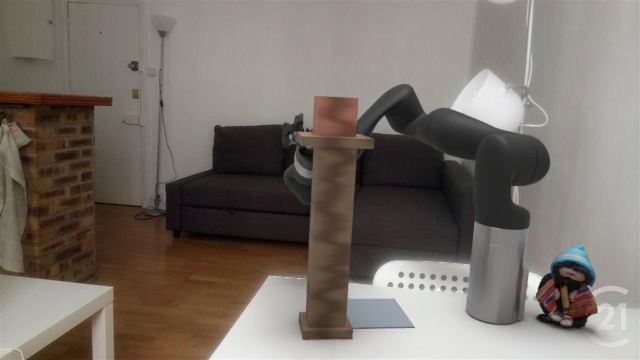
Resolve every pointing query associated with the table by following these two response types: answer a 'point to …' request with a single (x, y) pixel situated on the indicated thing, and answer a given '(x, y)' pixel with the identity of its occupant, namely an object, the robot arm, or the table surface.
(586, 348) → the table surface
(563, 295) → the figurine
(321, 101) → the mallet
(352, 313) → the pad
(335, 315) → the wooden pedestal column
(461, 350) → the table surface
